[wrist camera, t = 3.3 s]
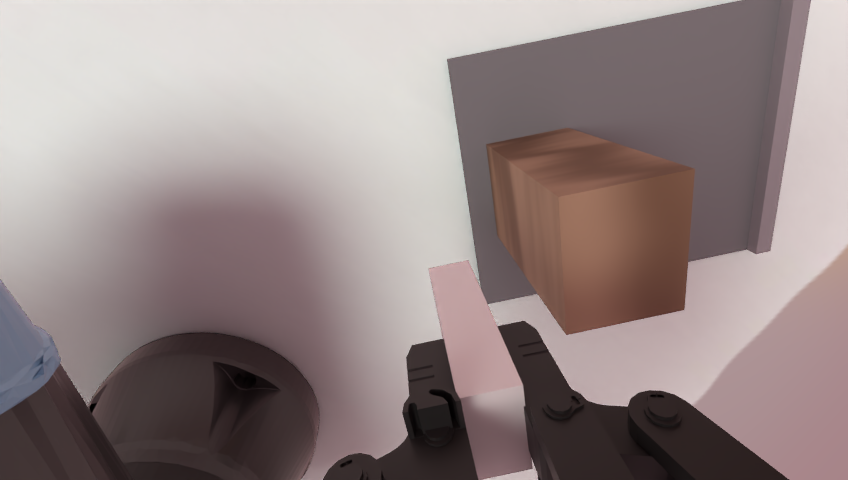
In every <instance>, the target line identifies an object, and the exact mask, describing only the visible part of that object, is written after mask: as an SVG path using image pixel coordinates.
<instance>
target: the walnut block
mask: <svg viewBox="0 0 848 480" xmlns="http://www.w3.org/2000/svg"><path fill="white" fill-rule="evenodd" d="M486 148H487V156H488V164H489V172H490V180H491V189H492V197H493V205H494V213H495V221H496V229H497V236H498V237H499V239H500V240H501V242H502V243H503V245H504V246H505V247H506V249H507V250H508V252H509V253H510V255H511V256H512V257H513V259H514V260H515V262H516V263H517V265H518V266H519V268H520V269H521V270H522V272H523V273H524V275H525V276H526V278H527V279H528V281H529V282H530V283H531V285H532V286H533V288H534V289H535V291H536V292H537V293H538V295H539V296H540V298H541V299H542V301H543V302H544V304H545V305H546V306H547V308H548V309H549V311H550V312H551V314H552V315H553V317H554V318H555V319H556V321H557V322H558V324H559V325H560V327H561V328H562V329H563V331H564V332H565V334H566V335H569V334H573V333H578V332H583V331H587V330H592V329H597V328H601V327H606V326H611V325H615V324H620V323H625V322H630V321H634V320H639V319H644V318H648V317H653V316H658V315H662V314H667V313H672V312H676V311H681V310H684V307H685V294H686V281H687V268H688V255H689V242H690V229H691V216H692V202H693V189H694V176H695V169H694V168H691V167H688V166H685V165H682V164H679V163H676V162H673V161H669V160H666V159H663V158H660V157H657V156H654V155H651V154H648V153H645V152H642V151H638V150H635V149H632V148H629V147H626V146H623V145H620V144H617V143H614V142H611V141H608V140H604V139H601V138H598V137H595V136H592V135H589V134H586V133H583V132H580V131H577V130H574V129H570V128H563V129H558V130H554V131H549V132H544V133H539V134H534V135H529V136H524V137H519V138H514V139H509V140H505V141H500V142H495V143H490V144H486Z"/></svg>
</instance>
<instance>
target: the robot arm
mask: <svg viewBox="0 0 848 480" xmlns="http://www.w3.org/2000/svg"><path fill="white" fill-rule="evenodd" d="M428 269H429V274H430V279H431V284H432V288H433V293H434V298H435V303H436V308H437V313H438V318H439V323H440V328H441V333H442V338H443V339H440V340H435V341H430V342H426V343H421V344H416V345H412V347H411V349H410V351H409V353H408V355H407V357H406V358H407V370H408V381H409V397H408V399H407V400H406V402H405V403H404V407H403V417H404V420H405V424H406V428H407V431H408V436H407V438H406V439H405V441H404V442H403V443H402V444H401V445H400V446H399V447H398V448H396V449H395V450H393V451H392V452H390V453H389V454H387V455H385V456H383V457H381V458H379V459H377V460H376V459H375V458H373V457H372V456H371V455H367V454H362V453H358V454H353V455H348V456H346V457H345V458H343V459H341V460H339V461H337V462H336V463H335V464H334V465H333V466H332V467H331V468H330V469H329V470H328V472H327V474H326V475H325V477H324V479H323V480H481V479H486V478H491V477H495V476H500V475H505V474H510V473H514V472H519V471H524V470H528V469H533V468H532V460H533V463H534V465H535V468H536V471H537V473H538V480H789V479H787V478H786V477H785V476H783V475H782V474H781V473H780V472H778V471H777V470H776V469H774V468H773V467H772V466H770V465H769V464H768V463H766V462H765V461H764V460H762V459H761V458H760V457H759V456H757V455H756V454H755V453H753V452H752V451H750V450H749V449H748V448H747V447H745V446H744V445H743V444H741V443H740V442H739V441H737V440H736V439H735V438H733V437H732V436H730V434H728V433H727V432H726V431H724V430H723V429H722V428H720V427H719V426H717V424H715V423H714V422H713V421H711V420H710V419H709V418H707V417H706V416H705V415H703V414H702V413H701V412H699V411H698V410H697V409H696V408H694V407H693V406H692V405H690V404H689V403H688V402H686V401H685V400H683V399H681V398H679V397H678V396H676V395H674V394H670V393H667V392H663V391H651V390H649V391H645V392H640V393H638V394H636V395H635V396H634V397H632V398H631V400H630V402H629V405H628V407H624V406H607V405H600V404H595V403H592V402H589V401H587V400H586V399H585V398H584V397H583V396H582V395H581V394H580V393H578V392H576V391H574V390H572V389H571V388H570V386H569V385H568V383H567V381H566V380H565V378H564V376H563V374H562V373H561V371H560V369H559V368H558V366H557V364H556V362H555V361H554V359H553V357H552V356H551V354H550V352H549V351H548V349H547V347H546V345H545V344H544V343H543V340H542V338H541V337H540V335H539V333H538V332H537V330H536V329H535V328H534V327H532V326H531V325H529V324H528V323H526V322H525V321H521V322H516V323H511V324H507V325H502V326H497V325H496V322H495V320H494V318H493V315H492V313H491V311H490V309H489V306H488V304H487V302H486V300H485V297H484V295H483V293H482V290H481V288H480V286H479V284H478V281H477V279H476V277H475V275H474V272H473V270H472V268H471V265H470V263H469V261H468V260H467V261H462V262H457V263H452V264H448V265H443V266H438V267H433V268H428ZM60 362H61V358H60V357H59V355H58V351H57V348H56V346H55V344H54V341H53V339H52V337H51V336H50V335H49V334H48V333H47V332H46V331H45V330H43V329H42V328H40V327H37V326H35V325H33V323H32V322H31V321H30V319H29V318H28V317H27V315H26V314H25V312H24V311H23V310H22V308H21V307H20V306H19V304H18V303H17V301H16V300H15V299H14V297H13V296H12V295H11V293H10V292H9V290H8V289H7V288H6V286H5V285H4V284H3V282H2V281H1V279H0V480H301V479H302V477H303V476H304V474H305V473H306V471H307V469H308V467H309V465H310V463H311V460H312V457H313V454H314V450H315V445H316V439H317V433H318V428H319V409H318V404H317V401H316V398H315V395H314V393H313V391H312V389H311V387H310V385H309V384H308V382H307V381H306V379H305V378H304V377H303V375H302V374H301V373H300V372H299V371H298V370H297V369H296V368H295V367H294V366H293V365H292V364H291V363H289V362H288V361H287V360H286V359H284V358H283V357H281V356H280V355H278V354H277V353H275V352H273V351H272V350H270V349H268V348H266V347H264V346H261V345H259V344H257V343H254V342H251V341H248V340H245V339H242V338H238V337H234V336H229V335H223V334H214V333H189V334H180V335H175V336H170V337H166V338H163V339H159V340H156V341H154V342H151V343H149V344H147V345H145V346H143V347H141V348H139V349H137V350H136V351H134V352H133V353H131V354H130V355H129V356H127V357H126V358H125V359H124V360H123V361H122V362H121V363H120V364H119V365H118V366H117V367H116V368H115V369H114V371H113V372H112V373H111V374H110V375H109V376H108V377H107V379H106V380H105V381H104V382H103V383H102V384H101V386H100V387H99V388H98V390H97V391H96V393H95V394H94V396H93V397H92V399H91V401H90V403H89V405H88V407H87V405H86V404H85V402H84V400H83V399H82V397H81V396H80V394H79V392H78V391H77V389H76V388H75V386H74V385H73V383H72V381H71V380H70V378H69V377H68V375H67V373H66V372H65V370H64V369H63V367H62V365H61V364H60ZM531 457H532V459H531Z"/></svg>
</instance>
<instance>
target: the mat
mask: <svg viewBox="0 0 848 480" xmlns="http://www.w3.org/2000/svg"><path fill="white" fill-rule="evenodd" d="M810 2H811V0H742V1H737V2H732V3H727V4H722V5H717V6H712V7H707V8H702V9H697V10H692V11H687V12H682V13H677V14H672V15H667V16H662V17H657V18H652V19H647V20H642V21H637V22H632V23H627V24H622V25H617V26H612V27H607V28H602V29H597V30H592V31H587V32H582V33H577V34H572V35H567V36H562V37H557V38H552V39H547V40H542V41H537V42H532V43H527V44H522V45H517V46H512V47H507V48H502V49H497V50H492V51H487V52H482V53H477V54H472V55H467V56H462V57H457V58H452V59H447V62H448V69H449V75H450V82H451V89H452V96H453V102H454V109H455V116H456V123H457V129H458V136H459V143H460V150H461V156H462V163H463V170H464V177H465V184H466V190H467V197H468V204H469V211H470V217H471V224H472V231H473V238H474V244H475V251H476V258H477V265H478V271H479V278H480V285H481V290H482V293H483V295H484V297H485V300H486V302H487V304H491V303H495V302H500V301H505V300H509V299H514V298H519V297H524V296H528V295H533V294H538V293H537V292H536V291H535V289H534V288H533V286H532V285H531V283H530V282H529V281H528V279H527V278H526V276H525V275H524V273H523V272H522V270H521V269H520V268H519V266H518V265H517V263H516V262H515V260H514V259H513V257H512V256H511V255H510V253H509V252H508V250H507V249H506V247H505V246H504V245H503V243H502V242H501V240H500V239H499V237H498V236H497V229H496V221H495V213H494V205H493V197H492V189H491V180H490V172H489V164H488V156H487V148H486V144H490V143H495V142H500V141H505V140H509V139H514V138H519V137H524V136H529V135H534V134H539V133H544V132H549V131H554V130H558V129H563V128H570V129H574V130H577V131H580V132H583V133H586V134H589V135H592V136H595V137H598V138H601V139H604V140H608V141H611V142H614V143H617V144H620V145H623V146H626V147H629V148H632V149H635V150H638V151H642V152H645V153H648V154H651V155H654V156H657V157H660V158H663V159H666V160H669V161H673V162H676V163H679V164H682V165H685V166H688V167H691V168H694V169H695V176H694V189H693V202H692V216H691V229H690V242H689V255H688V262H689V261H694V260H699V259H704V258H708V257H713V256H718V255H723V254H727V253H732V252H737V251H741V250H746V249H747V250H749V251H751V252H753V253H755V254H759V253H763V252H768V251H770V249H771V243H772V237H773V231H774V224H775V218H776V212H777V206H778V200H779V194H780V187H781V181H782V175H783V169H784V163H785V157H786V150H787V144H788V138H789V132H790V126H791V119H792V113H793V107H794V101H795V95H796V89H797V82H798V76H799V70H800V64H801V58H802V52H803V45H804V39H805V33H806V27H807V21H808V15H809V8H810Z"/></svg>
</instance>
